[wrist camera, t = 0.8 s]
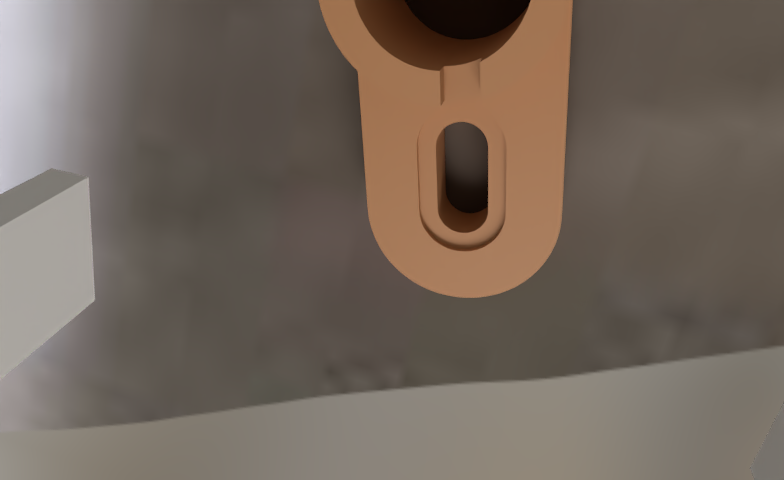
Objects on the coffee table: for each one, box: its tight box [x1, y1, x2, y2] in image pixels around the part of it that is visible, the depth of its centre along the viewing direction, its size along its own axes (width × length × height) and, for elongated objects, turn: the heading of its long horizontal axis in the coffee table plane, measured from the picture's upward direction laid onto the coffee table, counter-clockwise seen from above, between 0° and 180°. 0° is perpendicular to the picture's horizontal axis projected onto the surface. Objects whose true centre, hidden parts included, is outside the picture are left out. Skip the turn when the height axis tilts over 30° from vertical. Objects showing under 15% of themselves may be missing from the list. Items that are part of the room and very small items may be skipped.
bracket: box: [319, 0, 573, 298], centre depth 27 cm, size 18×8×7 cm, turn 4°
